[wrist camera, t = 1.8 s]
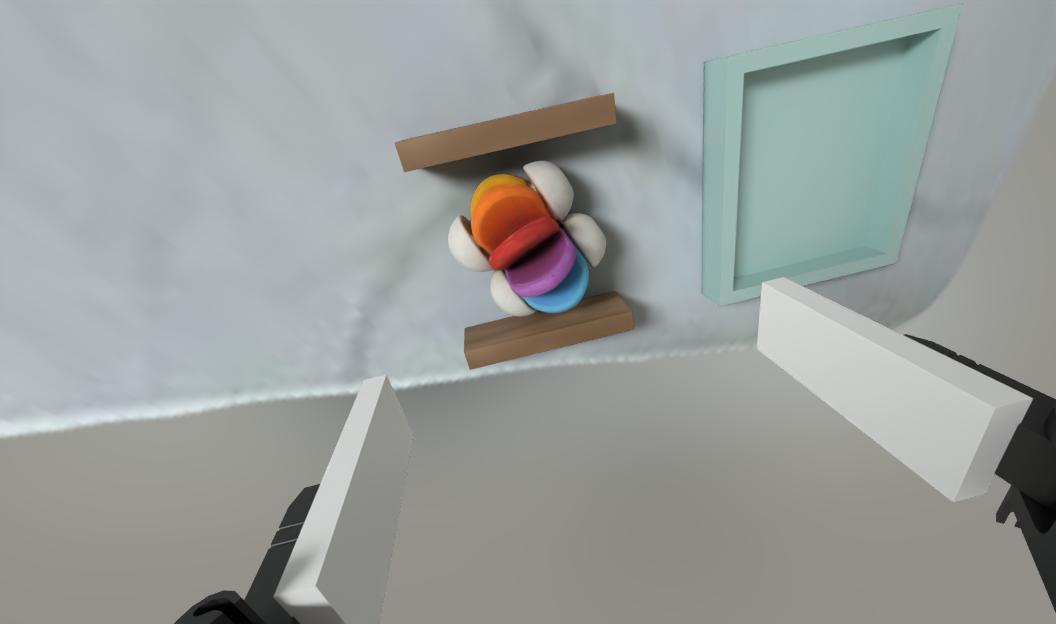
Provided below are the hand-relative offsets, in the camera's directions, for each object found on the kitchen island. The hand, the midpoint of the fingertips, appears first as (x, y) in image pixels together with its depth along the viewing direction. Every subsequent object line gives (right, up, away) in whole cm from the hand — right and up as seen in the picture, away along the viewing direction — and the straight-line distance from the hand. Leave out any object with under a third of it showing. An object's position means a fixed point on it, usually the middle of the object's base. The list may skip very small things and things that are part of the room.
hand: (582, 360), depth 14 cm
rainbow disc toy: (-2, +7, +14) cm, 16 cm away
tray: (+17, +12, +14) cm, 25 cm away
